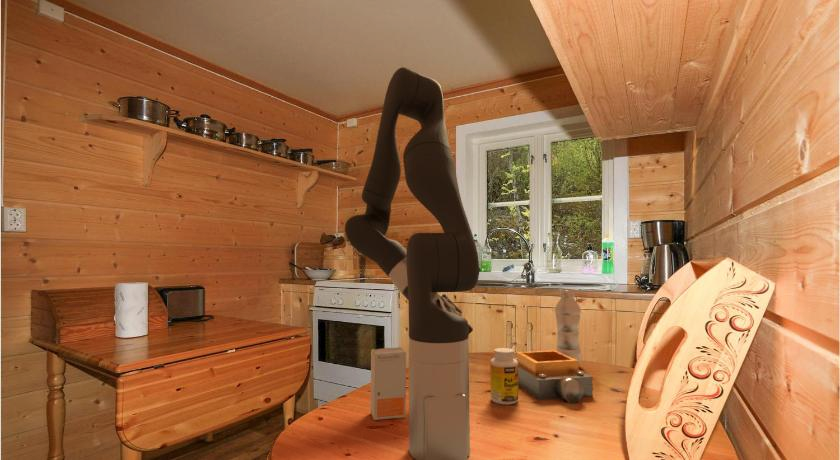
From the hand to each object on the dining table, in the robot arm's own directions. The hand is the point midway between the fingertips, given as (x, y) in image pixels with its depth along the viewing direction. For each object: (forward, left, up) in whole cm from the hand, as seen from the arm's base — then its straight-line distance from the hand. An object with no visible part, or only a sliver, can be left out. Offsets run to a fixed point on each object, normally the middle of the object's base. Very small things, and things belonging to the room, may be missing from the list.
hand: (465, 336), depth 91 cm
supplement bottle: (-4, -7, -13) cm, 15 cm away
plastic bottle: (+17, -33, -13) cm, 39 cm away
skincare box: (-7, +17, -13) cm, 22 cm away
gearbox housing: (+2, -20, -12) cm, 23 cm away
